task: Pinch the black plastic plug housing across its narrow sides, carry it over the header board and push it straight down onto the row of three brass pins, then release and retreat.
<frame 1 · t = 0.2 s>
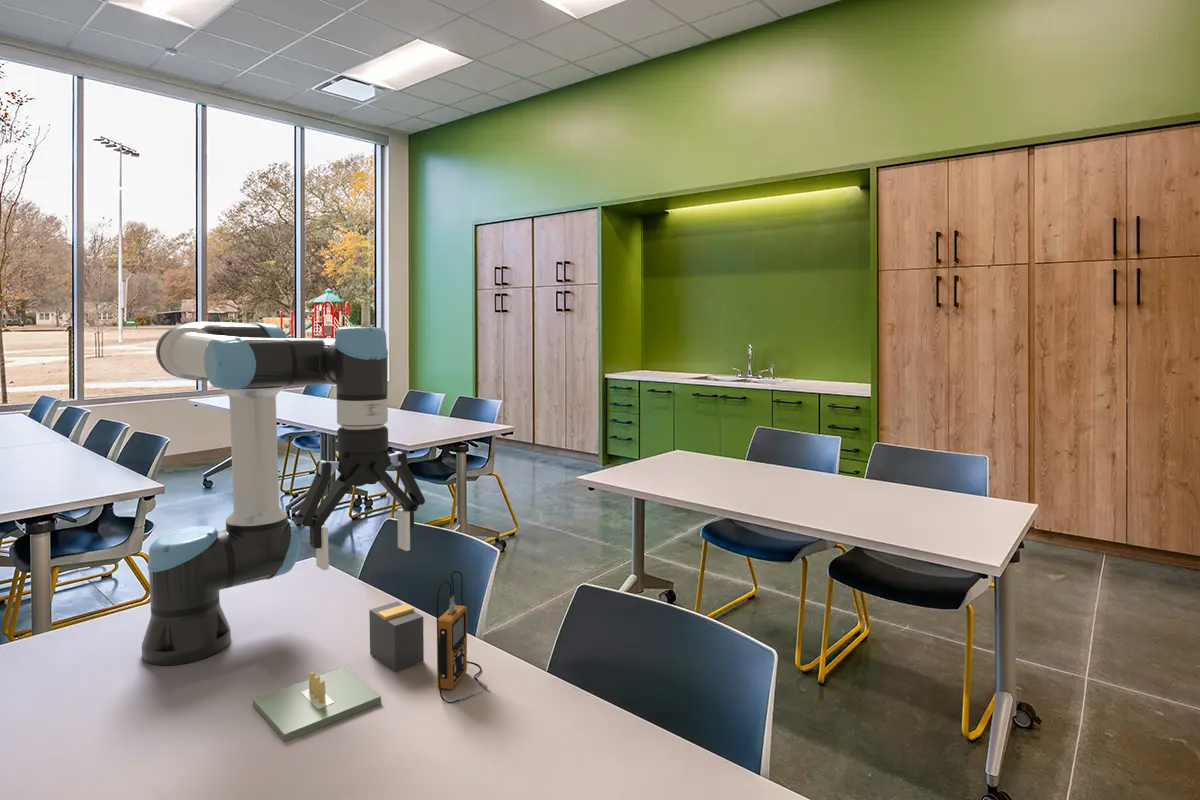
hand: (365, 558, 107), 28 cm above the table, fingers open, 13 cm apart
multimeter: (471, 684, 123), on the table
plug housing: (396, 657, 132), on the table
header board: (317, 704, 115), on the table
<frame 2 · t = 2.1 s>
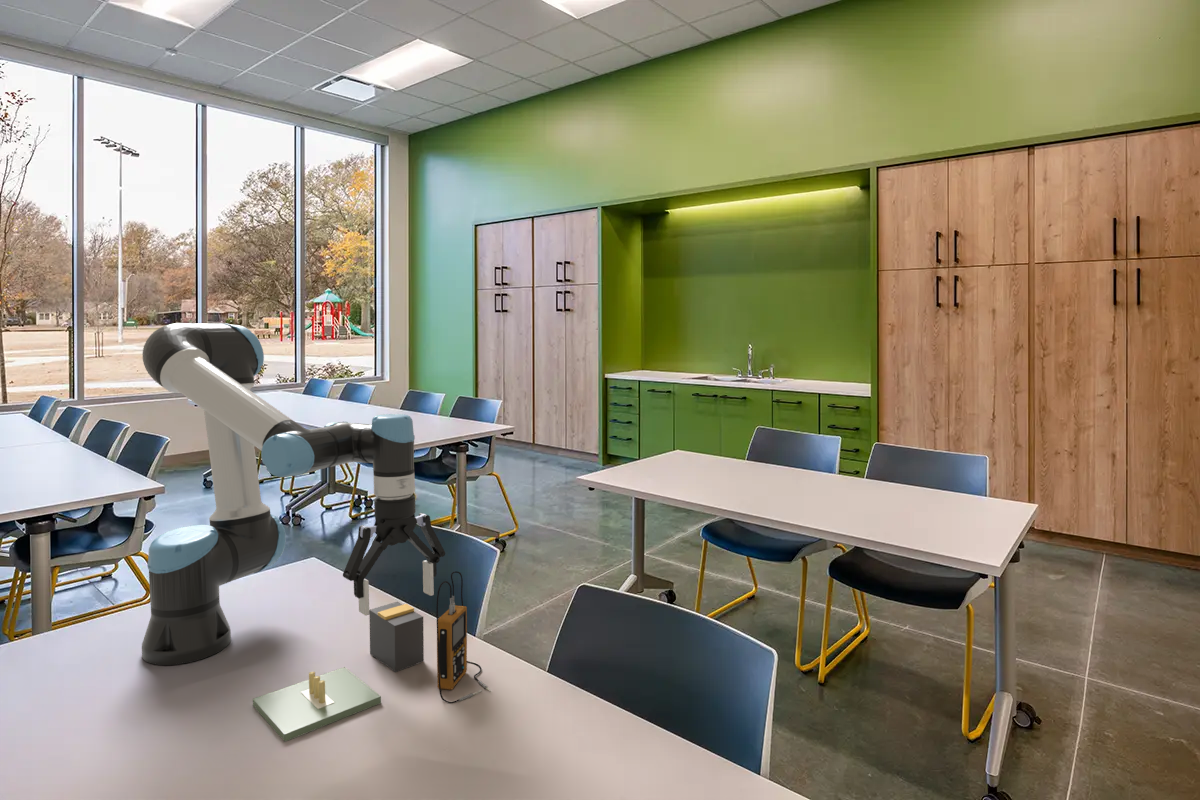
hand: (397, 603, 131), 11 cm above the table, fingers open, 13 cm apart
nothing on the table moved.
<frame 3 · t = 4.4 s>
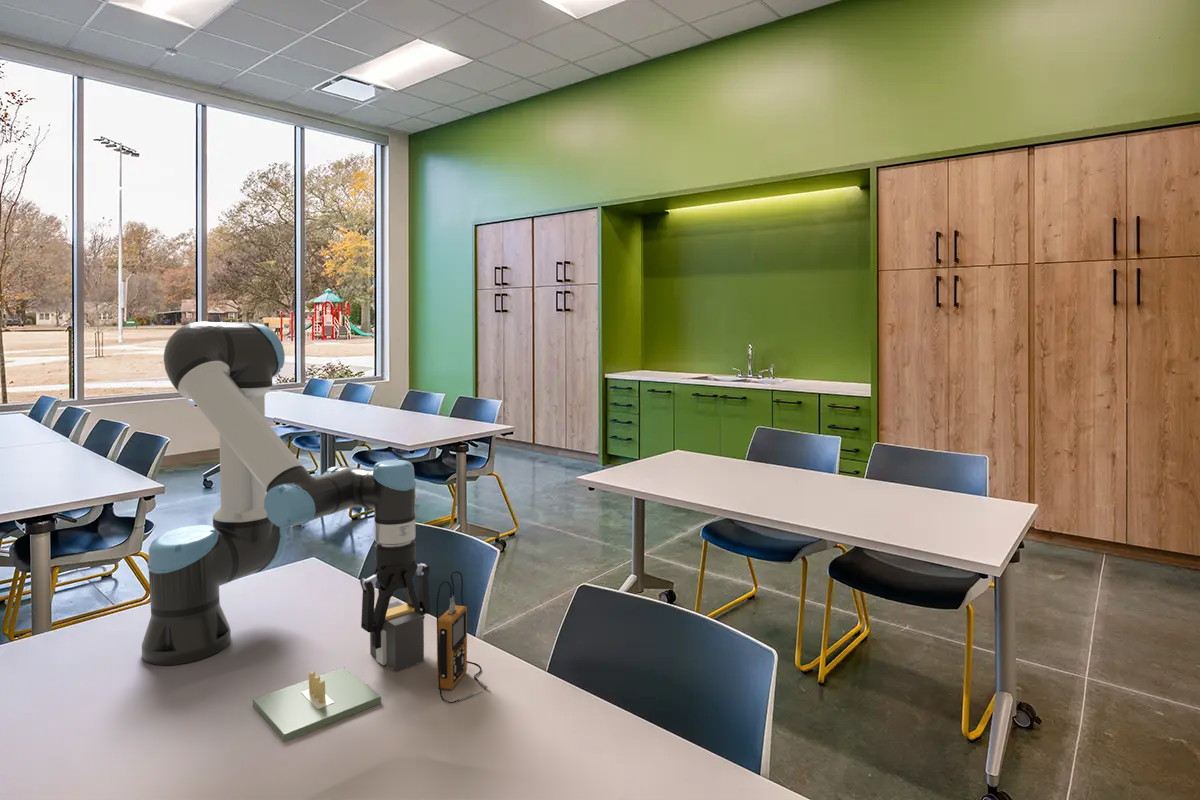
hand: (397, 656, 132), 0 cm above the table, fingers closed on plug housing, 6 cm apart
plug housing: (396, 657, 132), on the table, touching gripper
everything else where it was.
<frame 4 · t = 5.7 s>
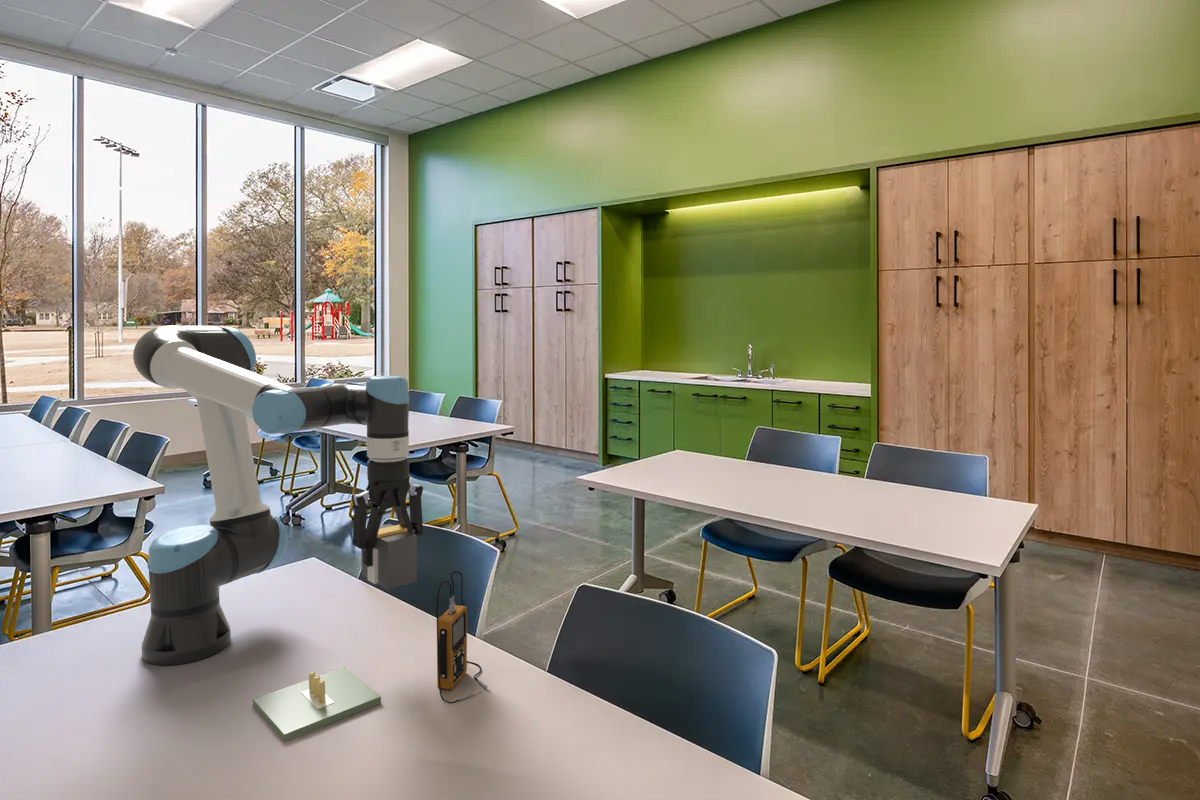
hand: (389, 577, 129), 17 cm above the table, fingers closed on plug housing, 6 cm apart
plug housing: (388, 578, 129), point 16 cm above the table, touching gripper
everything else where it was.
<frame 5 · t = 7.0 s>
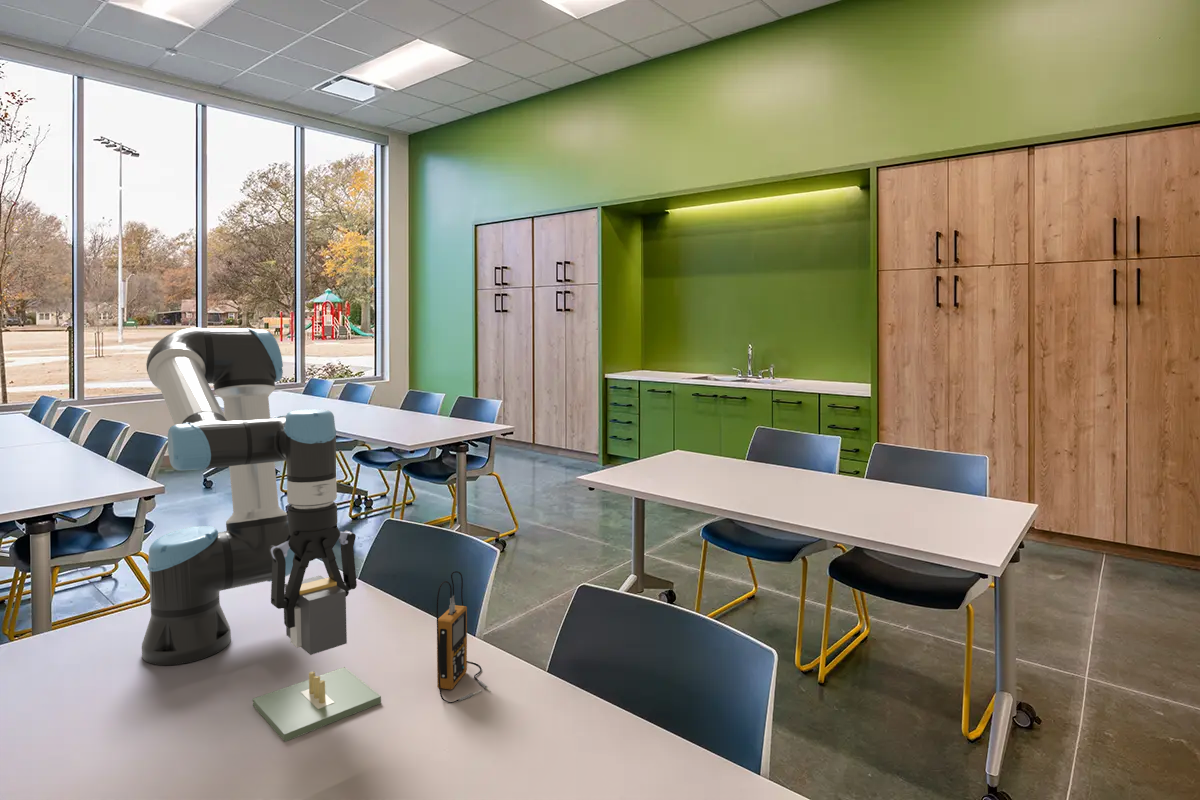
hand: (316, 638, 113), 12 cm above the table, fingers closed on plug housing, 6 cm apart
plug housing: (316, 639, 114), point 12 cm above the table, touching gripper
everything else where it was.
when the fingers open (2 cm above the table, at t = 9.3 s): plug housing stays where it is, resting on header board.
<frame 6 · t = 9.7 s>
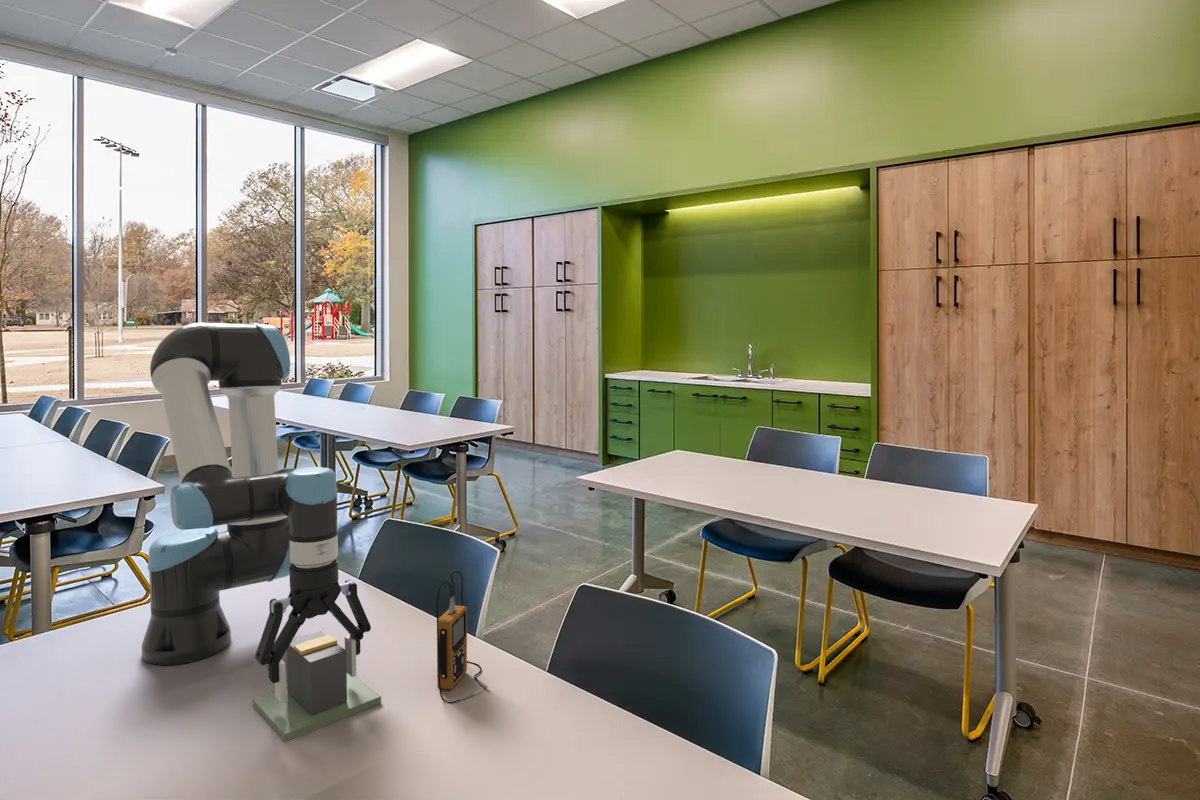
hand: (317, 685, 115), 3 cm above the table, fingers open, 11 cm apart
plug housing: (316, 696, 115), point 1 cm above the table, touching header board
everything else where it was.
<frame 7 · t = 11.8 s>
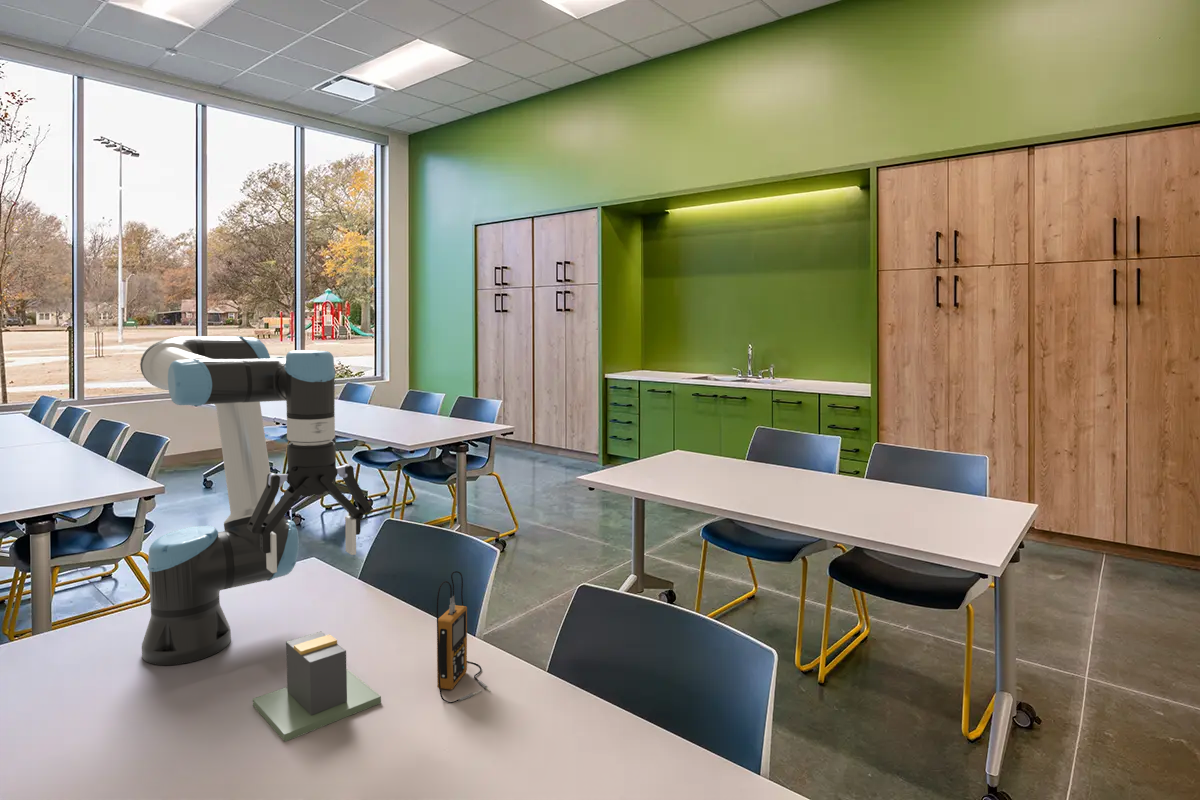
hand: (312, 561, 117), 23 cm above the table, fingers open, 13 cm apart
nothing on the table moved.
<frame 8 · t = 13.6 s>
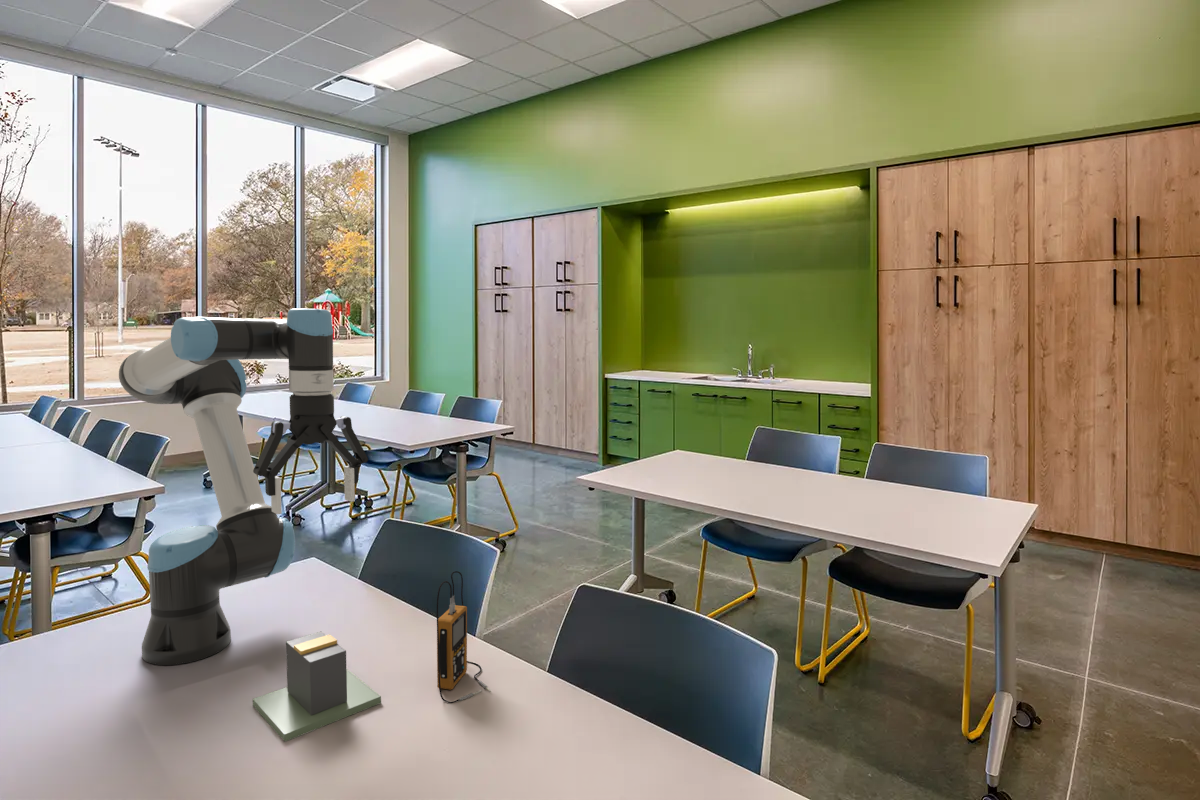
hand: (314, 506, 126), 31 cm above the table, fingers open, 13 cm apart
nothing on the table moved.
at the end: plug housing 0.2 cm off-centre on the header board, point 1.3 cm above the header board's base; plug housing tilted 0°; the gripper is holding nothing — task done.
